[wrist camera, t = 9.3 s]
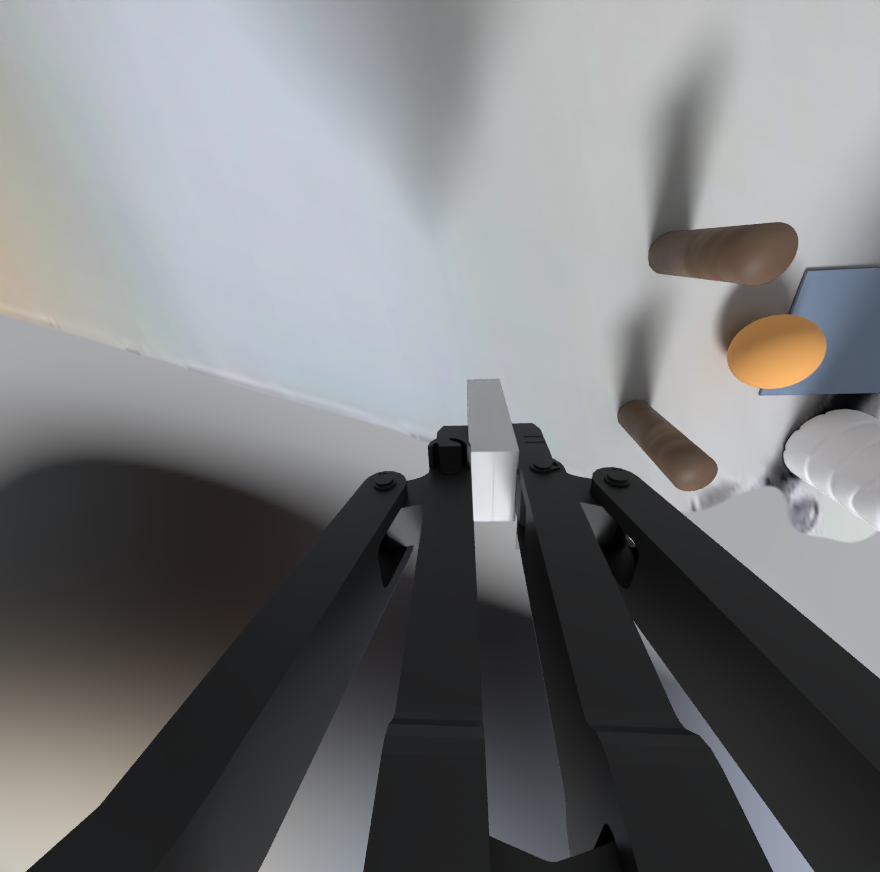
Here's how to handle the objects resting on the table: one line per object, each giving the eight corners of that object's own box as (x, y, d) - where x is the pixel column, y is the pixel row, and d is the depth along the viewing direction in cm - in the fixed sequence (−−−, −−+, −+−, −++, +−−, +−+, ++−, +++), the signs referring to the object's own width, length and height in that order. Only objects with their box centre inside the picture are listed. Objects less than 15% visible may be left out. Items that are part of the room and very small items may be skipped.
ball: (859, 323, 21) (823, 312, 25) (751, 317, 23) (734, 307, 27) (818, 404, 23) (791, 382, 27) (723, 392, 25) (711, 373, 29)
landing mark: (805, 271, 25) (807, 271, 24) (951, 264, 24) (954, 264, 24) (758, 394, 29) (760, 395, 29) (882, 391, 28) (884, 392, 28)
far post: (620, 400, 30) (677, 456, 22) (653, 399, 29) (723, 455, 21) (615, 428, 31) (667, 491, 23) (646, 428, 31) (710, 491, 23)
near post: (653, 232, 24) (745, 224, 16) (693, 230, 24) (808, 220, 16) (644, 274, 25) (727, 286, 17) (683, 273, 25) (785, 283, 17)
